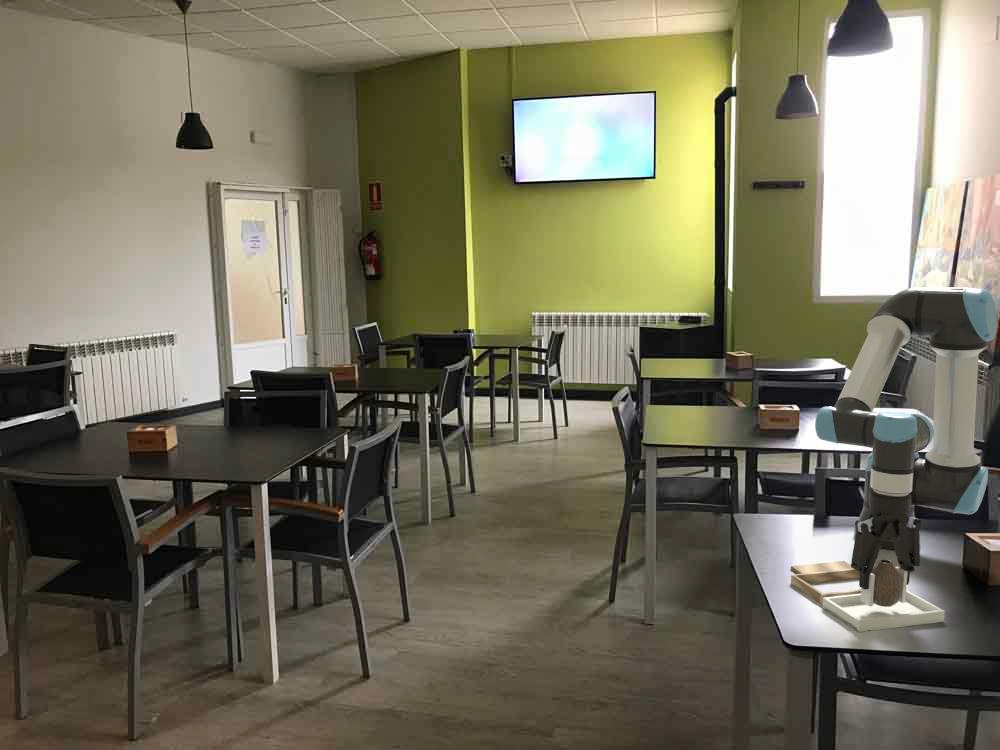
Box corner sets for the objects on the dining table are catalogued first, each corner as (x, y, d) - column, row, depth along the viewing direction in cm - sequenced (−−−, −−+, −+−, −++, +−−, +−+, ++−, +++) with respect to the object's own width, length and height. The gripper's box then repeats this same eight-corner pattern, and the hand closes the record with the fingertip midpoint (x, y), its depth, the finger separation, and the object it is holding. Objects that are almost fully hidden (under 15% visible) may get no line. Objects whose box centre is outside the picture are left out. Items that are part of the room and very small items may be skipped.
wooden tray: (867, 575, 189) (867, 566, 188) (902, 595, 178) (902, 586, 177) (790, 583, 184) (791, 574, 184) (822, 604, 173) (822, 595, 173)
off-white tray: (903, 598, 176) (904, 588, 175) (944, 621, 165) (944, 611, 164) (822, 607, 171) (823, 597, 171) (858, 632, 160) (859, 621, 160)
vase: (880, 611, 163) (883, 569, 162) (856, 598, 170) (859, 556, 169) (909, 607, 165) (912, 565, 164) (884, 594, 172) (887, 553, 171)
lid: (843, 564, 195) (844, 560, 195) (860, 573, 190) (860, 570, 189) (790, 569, 192) (790, 566, 192) (806, 579, 186) (806, 575, 186)
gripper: (919, 482, 170) (911, 590, 174) (834, 489, 166) (828, 599, 169) (947, 492, 163) (938, 604, 166) (859, 499, 158) (852, 614, 162)
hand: (882, 601), depth 168 cm, fingers closed on vase, 7 cm apart
